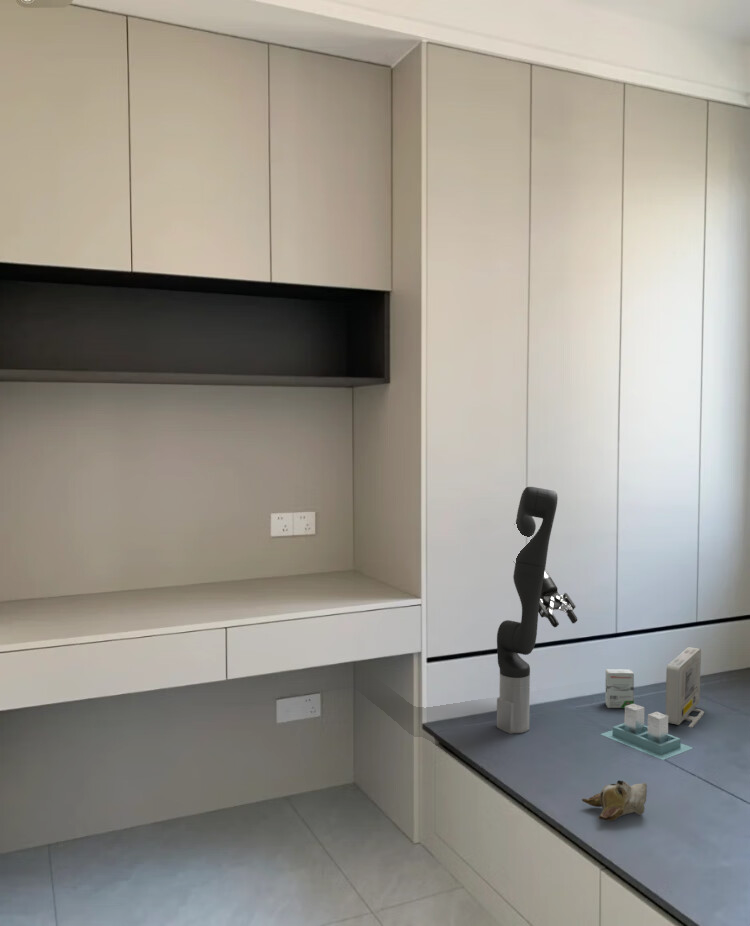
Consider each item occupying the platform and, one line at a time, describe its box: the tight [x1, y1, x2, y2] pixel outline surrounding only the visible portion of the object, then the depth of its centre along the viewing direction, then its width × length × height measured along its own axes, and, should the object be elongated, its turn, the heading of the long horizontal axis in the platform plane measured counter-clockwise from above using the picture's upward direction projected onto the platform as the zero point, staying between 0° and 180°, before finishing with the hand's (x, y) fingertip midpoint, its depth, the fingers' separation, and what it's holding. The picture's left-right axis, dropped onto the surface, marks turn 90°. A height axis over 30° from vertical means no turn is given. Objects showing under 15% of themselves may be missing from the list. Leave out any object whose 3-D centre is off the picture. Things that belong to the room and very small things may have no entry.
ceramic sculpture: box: [581, 780, 648, 822], centre depth 204 cm, size 11×9×15 cm
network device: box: [665, 646, 705, 728], centre depth 266 cm, size 26×9×20 cm, turn 145°
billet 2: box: [647, 711, 669, 744], centre depth 241 cm, size 4×4×9 cm
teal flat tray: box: [600, 722, 694, 761], centre depth 245 cm, size 14×22×4 cm, turn 35°
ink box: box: [604, 668, 635, 709], centre depth 277 cm, size 9×5×12 cm, turn 84°
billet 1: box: [623, 703, 645, 735], centre depth 248 cm, size 4×4×9 cm
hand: (566, 624), depth 271 cm, fingers open, 8 cm apart
